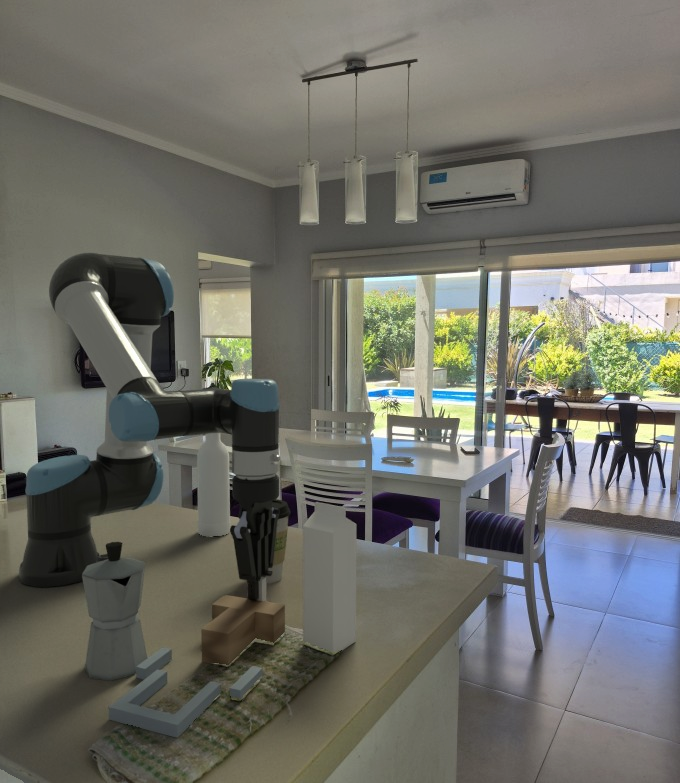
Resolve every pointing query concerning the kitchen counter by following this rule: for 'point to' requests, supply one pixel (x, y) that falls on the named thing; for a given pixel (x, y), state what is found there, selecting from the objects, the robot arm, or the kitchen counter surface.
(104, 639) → the coffee maker
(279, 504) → the coffee cup
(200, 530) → the bottle
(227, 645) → the t block
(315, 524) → the milk
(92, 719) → the kitchen counter surface
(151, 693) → the t bay
